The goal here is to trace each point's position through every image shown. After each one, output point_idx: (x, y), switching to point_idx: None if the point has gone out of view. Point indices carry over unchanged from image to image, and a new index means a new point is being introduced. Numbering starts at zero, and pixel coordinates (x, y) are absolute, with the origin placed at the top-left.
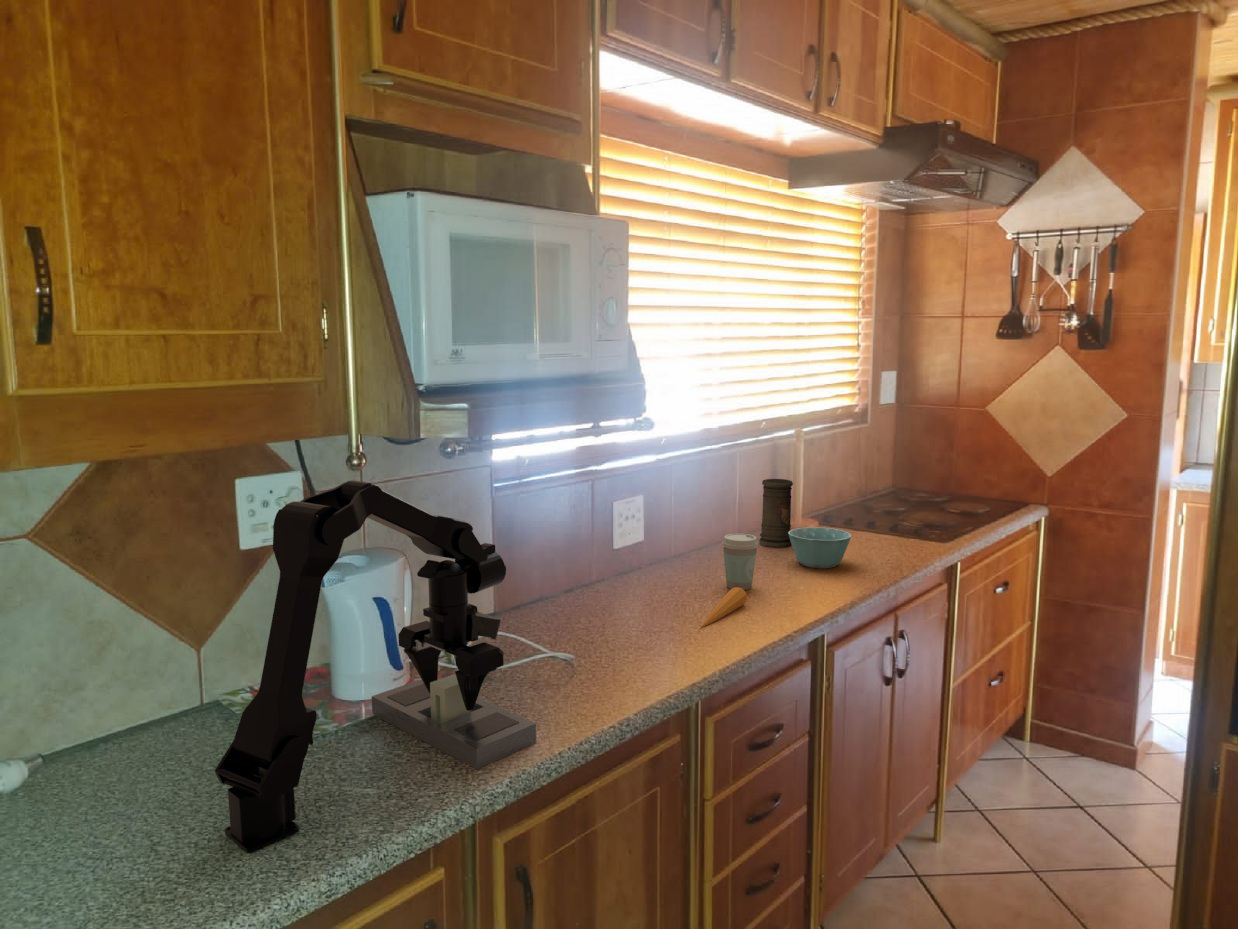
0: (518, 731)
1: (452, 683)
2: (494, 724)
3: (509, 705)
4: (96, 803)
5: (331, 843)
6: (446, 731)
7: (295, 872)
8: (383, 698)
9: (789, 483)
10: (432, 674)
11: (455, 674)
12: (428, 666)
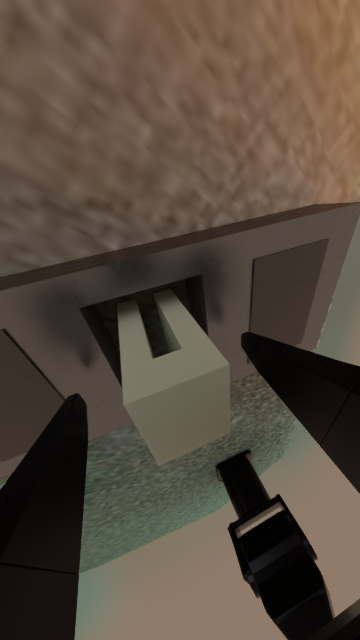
0: (342, 261)
1: (210, 416)
2: (293, 295)
3: (82, 85)
4: (130, 537)
5: (273, 432)
6: (243, 374)
7: (279, 442)
8: (13, 464)
9: None
10: (64, 468)
11: (133, 407)
12: (57, 531)
